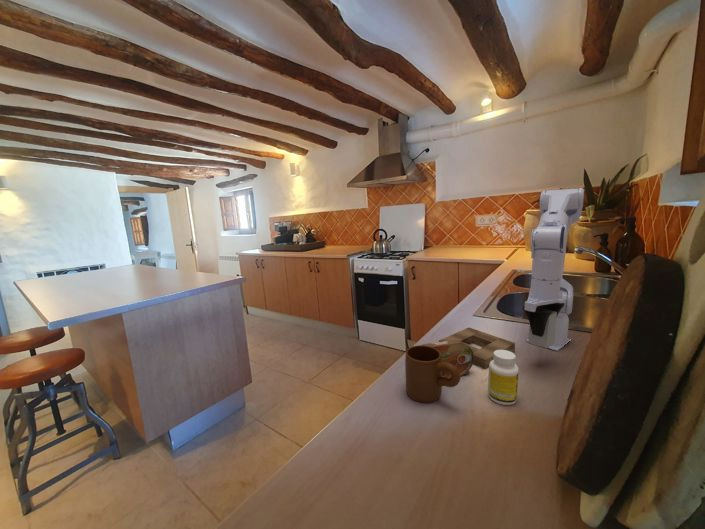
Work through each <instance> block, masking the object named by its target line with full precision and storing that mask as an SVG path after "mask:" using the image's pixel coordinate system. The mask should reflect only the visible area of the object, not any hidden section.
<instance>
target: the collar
mask: <svg viewBox="0 0 705 529" xmlns="http://www.w3.org/2000/svg"><path fill="white" fill-rule="evenodd" d="M449 340H458V341H461V342H463V343H464V344H466V345H468V346H469V347H470V348H471V349H472V351H473V354H474V362H473V365H474V366H476V367H478V368H481V369H484V370H487V369H489V363H490V362H491V361H492V360H494V359H493V354H494V351H496V350H507V351H510V352H512V353H515V352H516V350H515V349H516V343H515V342H513V341H510V340H507V339H505V338H501V337H499V336H496V335H493V334H489V333H486V332H483V331H481V330H478V329H475V328H473V327H466V328H465V329H464V328H463V329H462V330H459V331H457V332H455V333H453V334H450V335H448V336H446V337H444V338H442V339H441V338H440V339H439V340H438V342H442V341H449ZM471 344H473V345H476V346H479V347H481V348H478V347H476V346H473V345H471Z"/></svg>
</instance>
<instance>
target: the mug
mask: <svg viewBox="0 0 705 529" xmlns="http://www.w3.org/2000/svg"><path fill="white" fill-rule="evenodd" d="M404 360H405V362H404V365H405V368H404V369H405V391H406V392H407V395H408V396H409V397H410V398H411V399H413V400H414V401H416V402H418V403H425V404H426V403H433V402H436V401H437V400H439V398H441V396H442V391H443V390H442V389H443V388H442V387H445V388H446V387H447V388H454V387H456V386H458V385H459V383H460V381H461V376H460V373H459V370H458V369H457V368H456V367H455V366H454V365H452V364H450V363H442V359H441V353H440V351H439V350H437V349H435V348H433V347H430V346H424V345H423V344H421V345H414V346H411V347H409V348H407V349H406V351H405V359H404ZM442 371H449V372H450V373H451V374H452V377H451V378H446V377H442Z"/></svg>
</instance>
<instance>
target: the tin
mask: <svg viewBox="0 0 705 529" xmlns="http://www.w3.org/2000/svg"><path fill="white" fill-rule="evenodd" d="M422 345H424V346H430V347H433V348H435V349H437V350H439V351H440V353H441V359H442V363H450V364H452V365H454V366H455V367H456V368H457V369H458V370H459V373H460V377H462V376H464V375H466V374H467V373H468V372H469V371H470V370H471V368H472V367H473V365H474V364H473V362H474V354H473V351H472V349H471V348H470V347H469V346H468V345H466V344H464V343H463V342H461V341H458V340H449V341H442V342H439V341H435V342H430V343H428V342H427V343H424V344H422ZM442 377H446V378H449V379H450V378H451V377H452V374H451V373H450V372H449V371H442Z"/></svg>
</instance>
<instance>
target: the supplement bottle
mask: <svg viewBox="0 0 705 529" xmlns="http://www.w3.org/2000/svg"><path fill="white" fill-rule="evenodd" d="M516 357H517V356H516V354H515V352H513V353H512V352H510V351H507V350H496V351H494V354H493V359H494V360H492V361H491V362H490V363H489V367H488V380H487V382H488V383H487V395H488V397H489V398H490V399H491V400H492V401H493V402H495V403H497V404H500V405H503V406H510V405H514V404H515V403H517V400H518V388H519V386H518V384H519V372H520V368H519V366H518V365H517V364H516V359H517V358H516Z"/></svg>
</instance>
